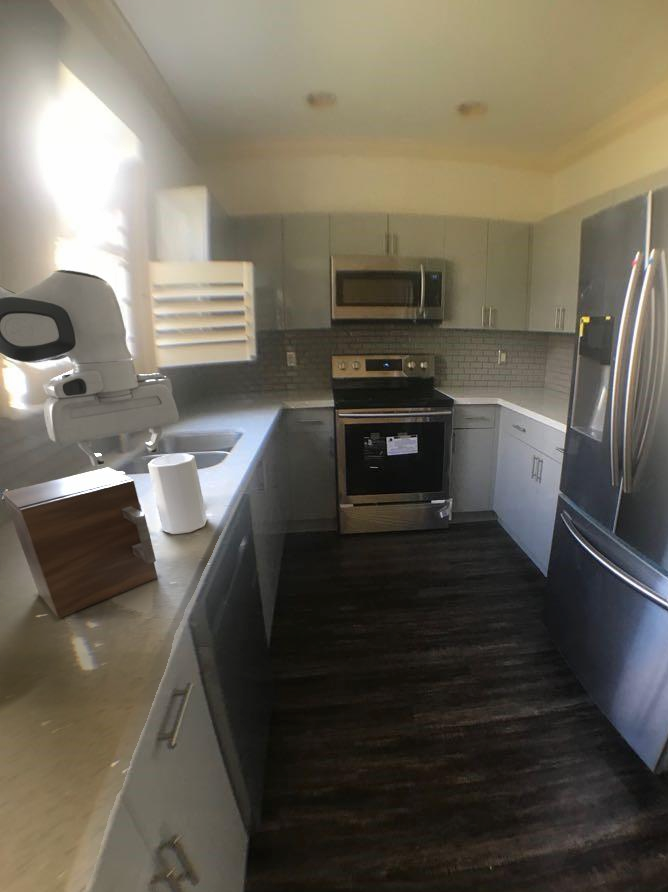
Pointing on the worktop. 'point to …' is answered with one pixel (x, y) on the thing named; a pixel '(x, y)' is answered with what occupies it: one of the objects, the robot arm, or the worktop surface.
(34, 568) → the cupboard
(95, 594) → the cupboard door
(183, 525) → the cup
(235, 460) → the worktop surface
